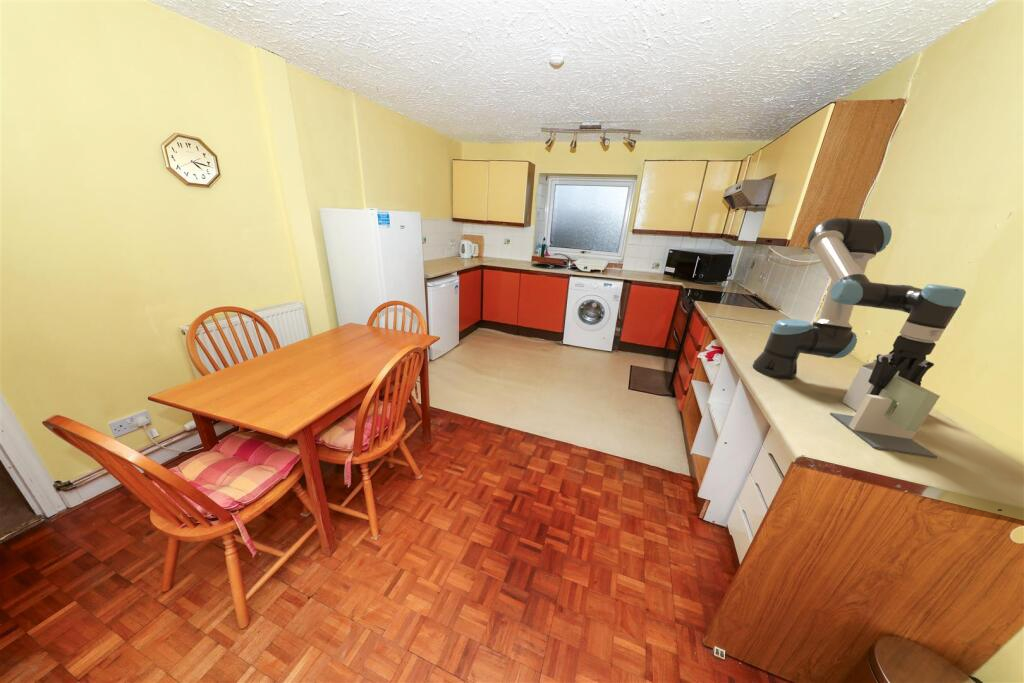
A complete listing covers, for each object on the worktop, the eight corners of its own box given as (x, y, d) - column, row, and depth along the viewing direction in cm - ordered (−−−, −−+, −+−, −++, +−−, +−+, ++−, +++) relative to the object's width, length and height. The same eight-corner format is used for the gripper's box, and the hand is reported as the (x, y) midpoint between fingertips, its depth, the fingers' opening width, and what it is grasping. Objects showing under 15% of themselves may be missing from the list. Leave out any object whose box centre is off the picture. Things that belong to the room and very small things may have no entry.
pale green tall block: (865, 404, 107) (883, 372, 102) (875, 406, 106) (894, 373, 102) (904, 430, 94) (927, 394, 89) (916, 432, 93) (940, 395, 89)
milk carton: (879, 415, 113) (908, 367, 106) (856, 412, 115) (883, 363, 108) (863, 405, 120) (889, 358, 113) (841, 401, 121) (866, 355, 114)
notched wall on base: (873, 448, 95) (895, 412, 91) (829, 414, 112) (846, 381, 107) (937, 458, 93) (962, 421, 89) (882, 421, 110) (901, 389, 105)
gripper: (897, 339, 93) (859, 408, 102) (963, 346, 91) (918, 417, 99) (875, 330, 100) (841, 396, 108) (936, 337, 98) (896, 404, 106)
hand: (878, 406), depth 104 cm, fingers closed on pale green tall block, 3 cm apart
